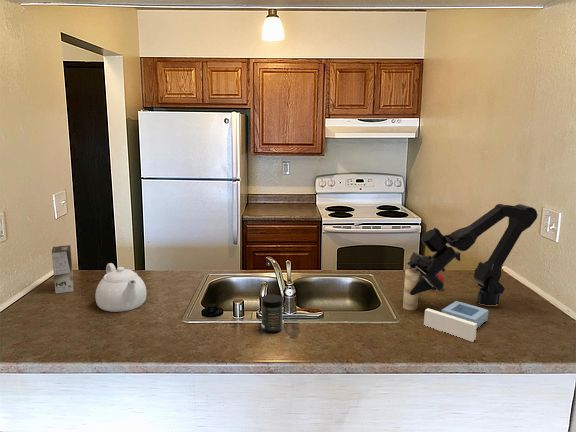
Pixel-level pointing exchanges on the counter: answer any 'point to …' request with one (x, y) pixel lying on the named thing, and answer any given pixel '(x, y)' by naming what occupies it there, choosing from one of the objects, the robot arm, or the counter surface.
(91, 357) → the counter surface
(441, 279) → the onion
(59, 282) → the coffee box
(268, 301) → the supplement container
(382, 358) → the counter surface
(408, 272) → the dowel
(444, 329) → the white base plate
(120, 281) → the teapot
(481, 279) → the robot arm
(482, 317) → the socket block
